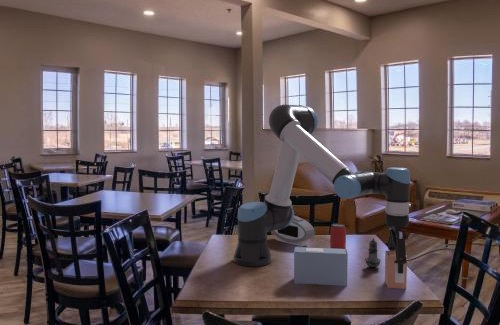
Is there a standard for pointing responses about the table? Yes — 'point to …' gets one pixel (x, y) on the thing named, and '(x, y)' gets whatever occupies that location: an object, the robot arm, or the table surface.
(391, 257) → the stub
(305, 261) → the gray rectangular box
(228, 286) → the table surface
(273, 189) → the robot arm
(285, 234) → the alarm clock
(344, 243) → the beer can
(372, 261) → the dark rounded upright piece
